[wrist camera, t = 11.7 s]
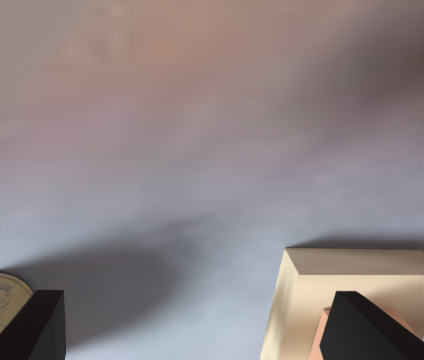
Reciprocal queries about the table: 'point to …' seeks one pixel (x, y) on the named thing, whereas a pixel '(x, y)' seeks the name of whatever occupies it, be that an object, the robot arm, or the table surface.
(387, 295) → the birch block
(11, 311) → the yellow package
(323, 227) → the table surface
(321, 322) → the terracotta block
